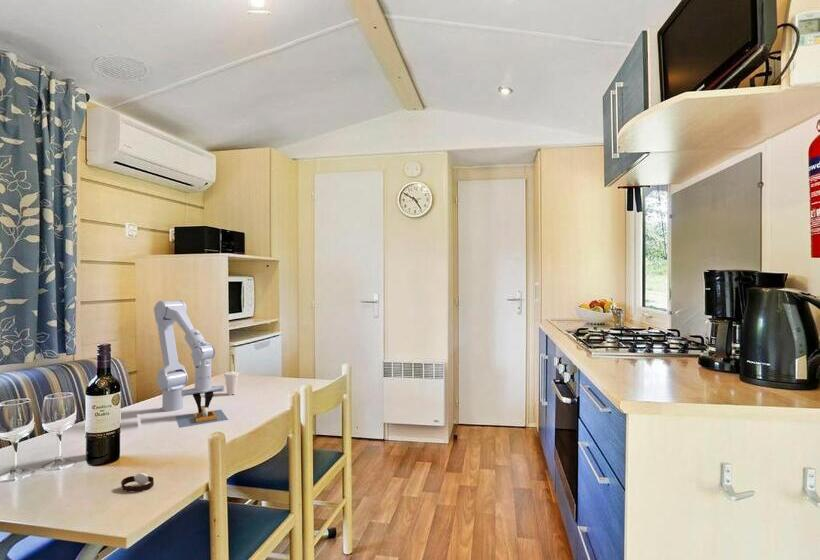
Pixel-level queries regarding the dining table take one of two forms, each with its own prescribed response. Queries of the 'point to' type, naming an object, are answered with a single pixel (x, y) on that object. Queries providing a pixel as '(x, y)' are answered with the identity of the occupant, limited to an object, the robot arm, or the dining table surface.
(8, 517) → the dining table surface
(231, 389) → the smoothie
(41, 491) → the dining table surface
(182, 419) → the stand
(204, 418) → the loop
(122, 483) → the watch
